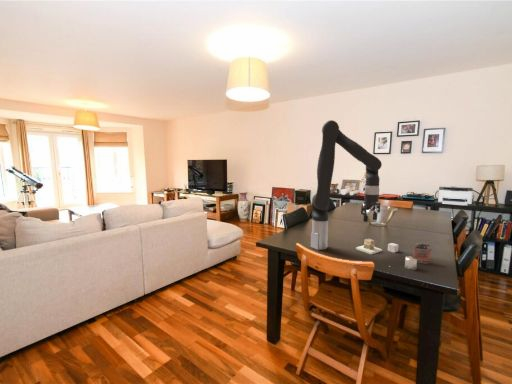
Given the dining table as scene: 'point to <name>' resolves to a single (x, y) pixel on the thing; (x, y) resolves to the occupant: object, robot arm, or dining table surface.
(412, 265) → the metal tin
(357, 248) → the plate
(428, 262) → the lighter
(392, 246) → the white block
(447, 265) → the dining table surface
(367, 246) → the beech block
